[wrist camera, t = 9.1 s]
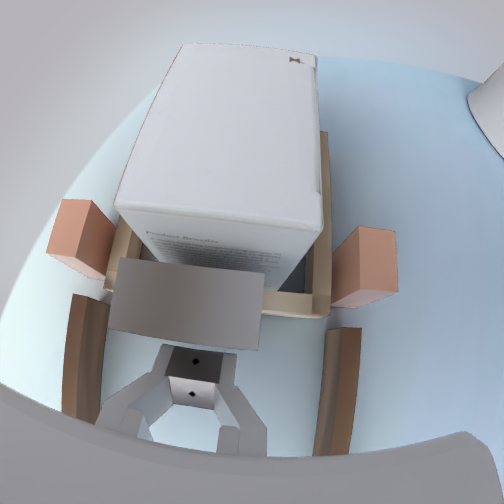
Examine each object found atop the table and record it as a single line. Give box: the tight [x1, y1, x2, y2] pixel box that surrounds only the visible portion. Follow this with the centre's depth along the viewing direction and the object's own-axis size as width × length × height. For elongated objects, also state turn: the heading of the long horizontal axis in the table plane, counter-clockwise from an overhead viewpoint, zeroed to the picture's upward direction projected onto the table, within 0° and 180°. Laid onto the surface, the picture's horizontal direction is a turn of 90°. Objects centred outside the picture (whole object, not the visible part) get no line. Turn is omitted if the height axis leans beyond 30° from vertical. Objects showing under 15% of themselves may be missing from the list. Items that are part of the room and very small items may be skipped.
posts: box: [46, 199, 398, 308], centre depth 15 cm, size 17×3×5 cm, turn 84°
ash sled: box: [103, 131, 332, 351], centre depth 13 cm, size 12×14×9 cm
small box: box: [113, 43, 324, 291], centre depth 13 cm, size 8×6×10 cm
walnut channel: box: [62, 294, 362, 457], centre depth 12 cm, size 15×14×3 cm
